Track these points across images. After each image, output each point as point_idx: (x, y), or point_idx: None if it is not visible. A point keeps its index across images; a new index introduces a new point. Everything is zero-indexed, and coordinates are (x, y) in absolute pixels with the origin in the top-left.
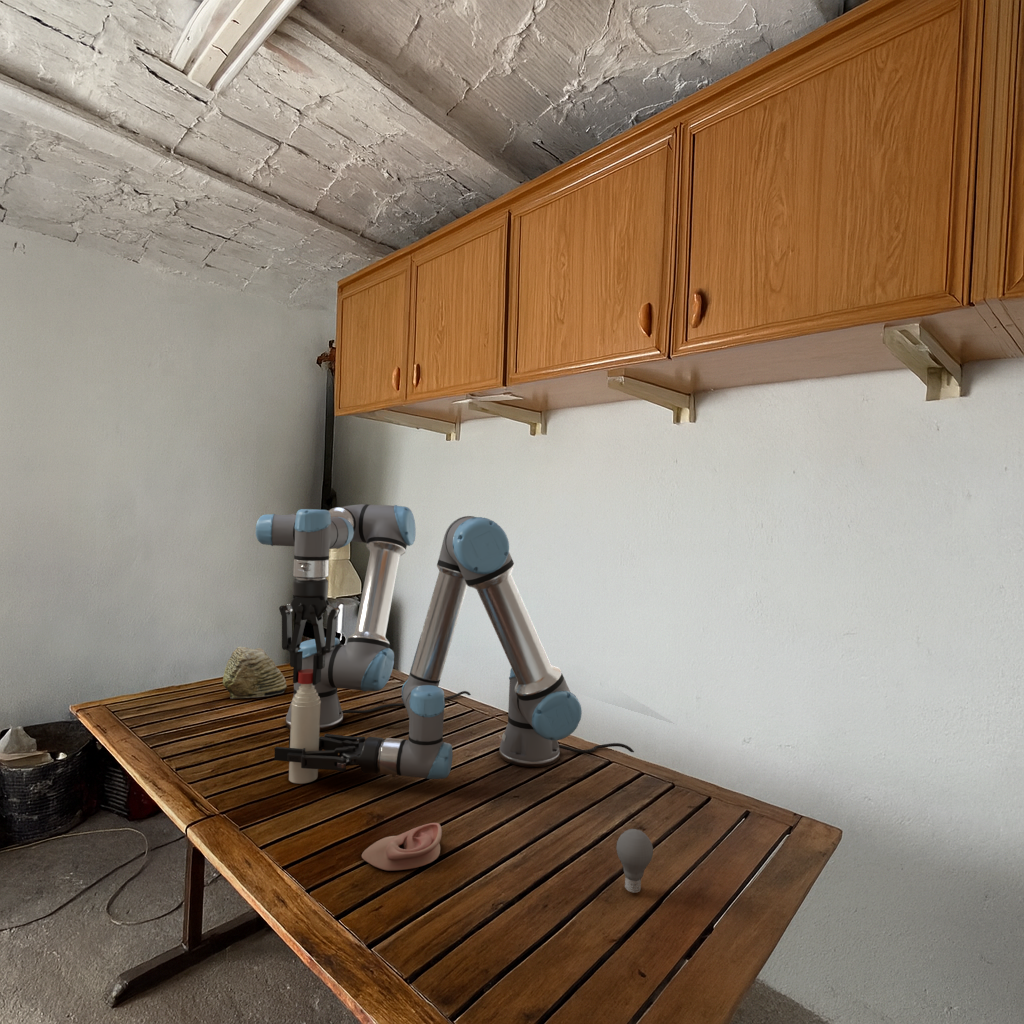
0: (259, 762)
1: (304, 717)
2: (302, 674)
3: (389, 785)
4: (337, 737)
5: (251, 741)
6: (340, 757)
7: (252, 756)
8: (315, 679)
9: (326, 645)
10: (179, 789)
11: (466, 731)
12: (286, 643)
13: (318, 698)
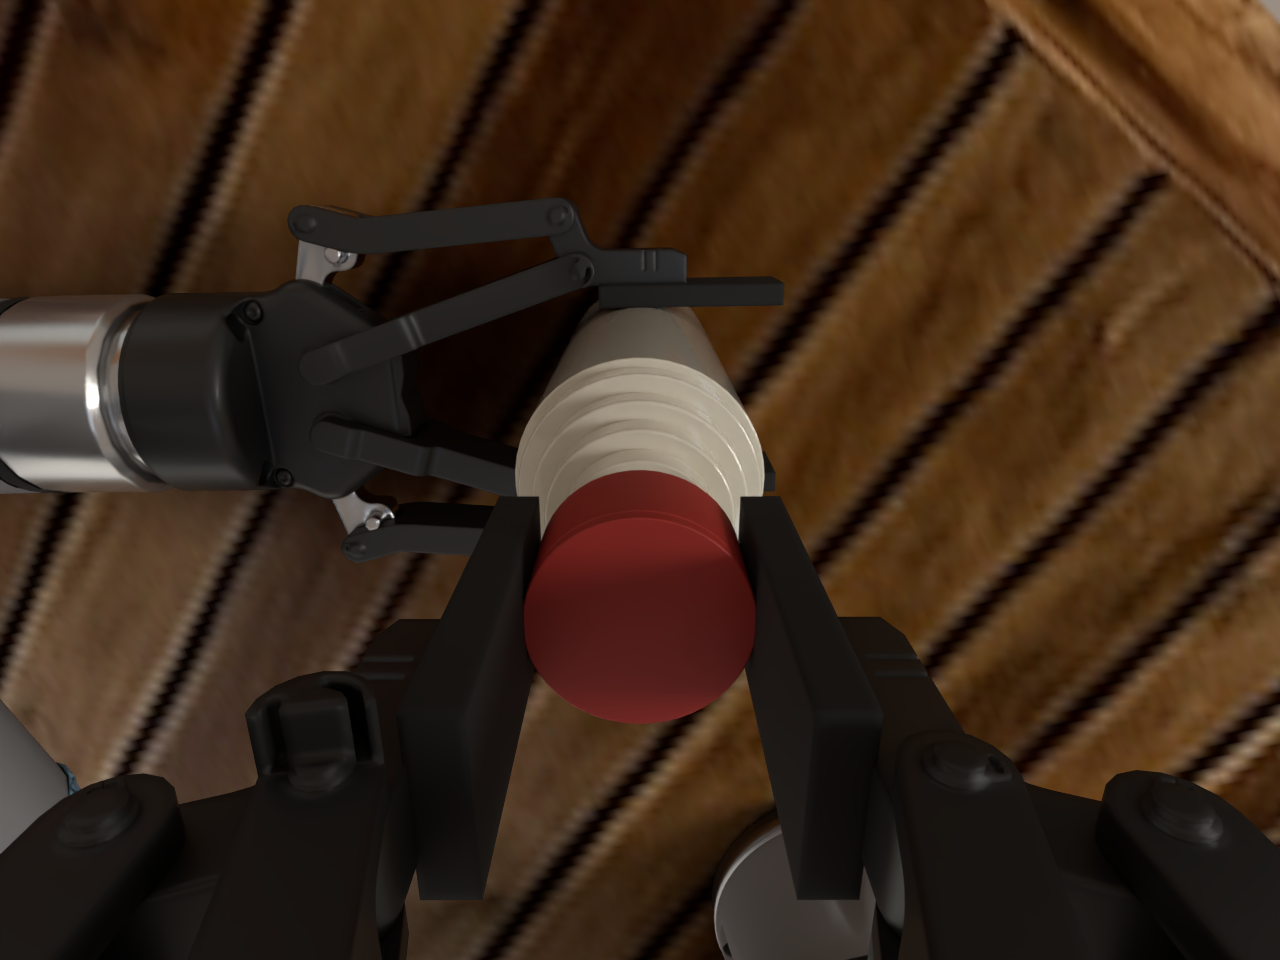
0: (913, 464)
1: (600, 349)
2: (653, 511)
3: None
4: None
5: (1040, 663)
6: (335, 244)
7: (972, 518)
8: (492, 520)
9: (48, 919)
10: (1182, 96)
11: None
12: (1194, 892)
13: None
